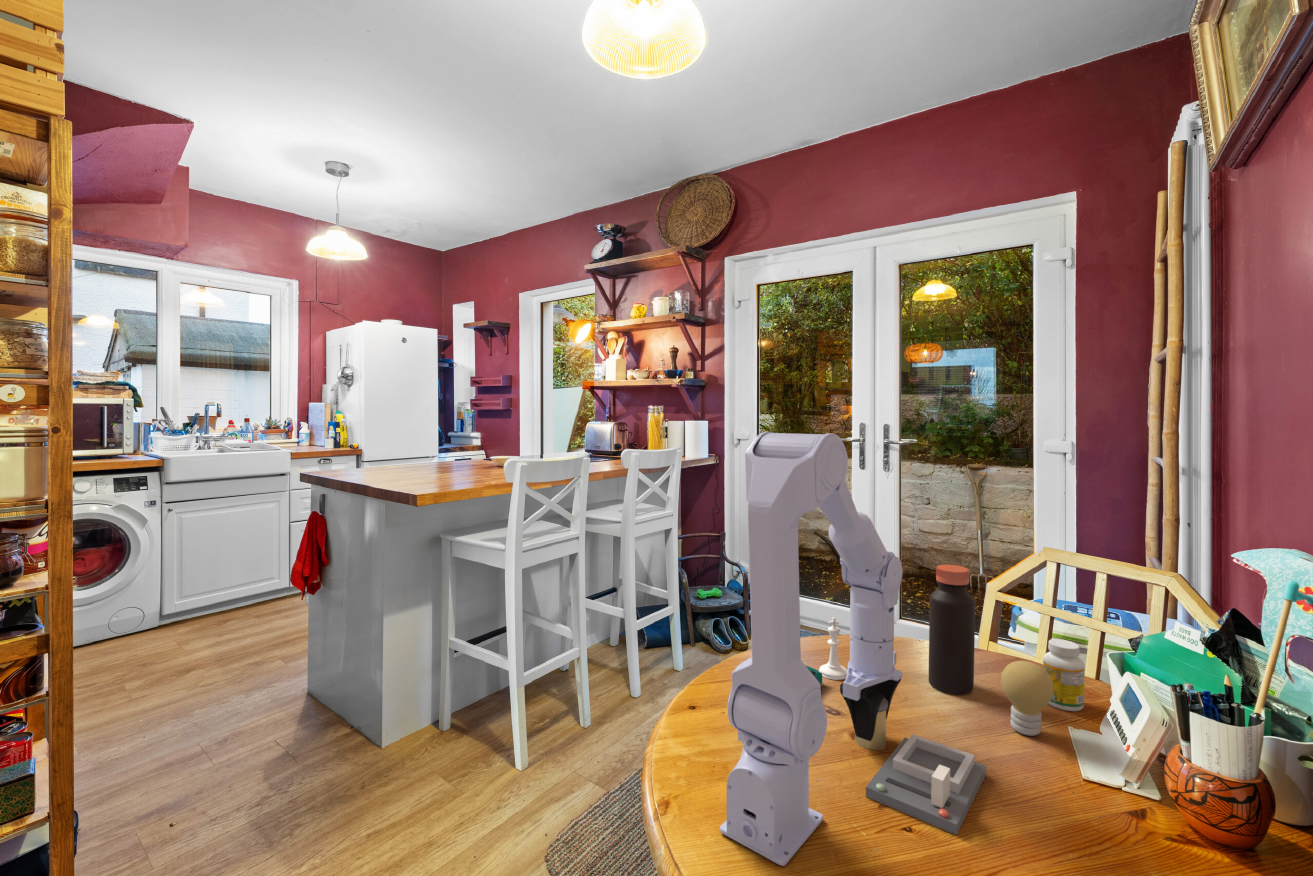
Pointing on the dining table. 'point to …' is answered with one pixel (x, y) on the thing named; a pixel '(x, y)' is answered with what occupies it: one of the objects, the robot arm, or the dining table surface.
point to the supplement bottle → (1065, 674)
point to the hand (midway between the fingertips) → (870, 730)
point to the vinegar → (952, 632)
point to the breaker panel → (927, 782)
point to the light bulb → (1026, 694)
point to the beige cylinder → (877, 730)
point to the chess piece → (833, 656)
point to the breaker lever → (940, 786)
